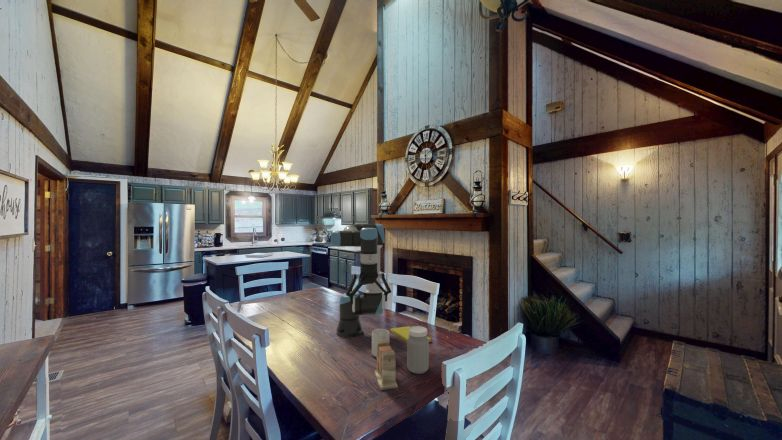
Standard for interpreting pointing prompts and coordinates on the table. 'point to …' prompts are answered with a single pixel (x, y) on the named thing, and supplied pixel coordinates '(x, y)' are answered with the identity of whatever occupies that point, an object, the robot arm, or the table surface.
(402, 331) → the yellow rectangular slab
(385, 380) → the tan blocky piece
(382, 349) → the orange piece
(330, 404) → the table surface
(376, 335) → the mug
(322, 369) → the table surface
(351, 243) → the robot arm
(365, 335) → the table surface
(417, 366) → the jar
